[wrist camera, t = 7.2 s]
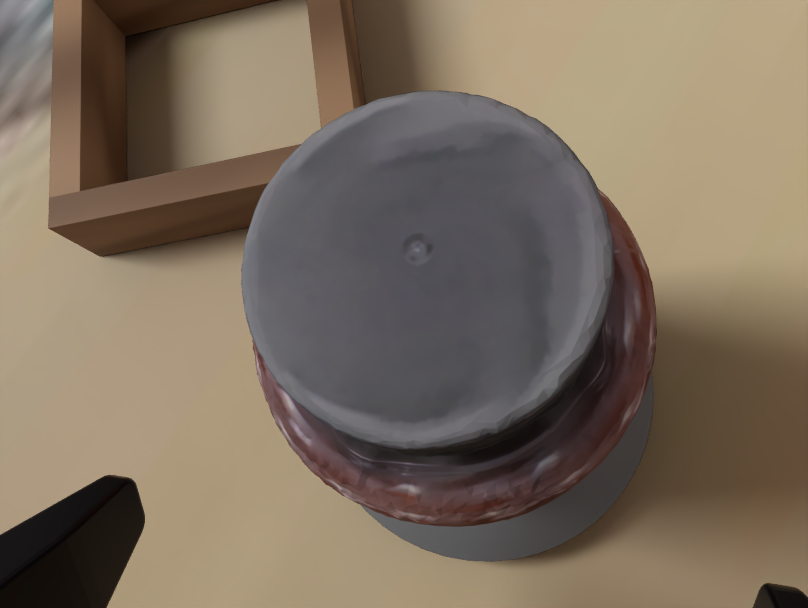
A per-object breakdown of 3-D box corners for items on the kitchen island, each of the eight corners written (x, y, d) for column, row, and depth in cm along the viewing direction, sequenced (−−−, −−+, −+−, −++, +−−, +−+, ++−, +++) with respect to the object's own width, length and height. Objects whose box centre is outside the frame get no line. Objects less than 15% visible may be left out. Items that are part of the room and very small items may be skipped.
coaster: (721, 403, 17) (731, 400, 16) (465, 633, 17) (462, 641, 16) (492, 180, 20) (491, 169, 19) (266, 373, 19) (256, 368, 19)
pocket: (378, 200, 20) (360, 163, 18) (100, 256, 22) (48, 228, 19) (346, -41, 23) (326, -101, 21) (100, 20, 24) (54, -31, 22)
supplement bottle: (337, 339, 19) (85, 145, 8) (526, 246, 18) (539, -87, 8) (424, 543, 17) (257, 660, 6) (636, 443, 16) (860, 376, 6)
